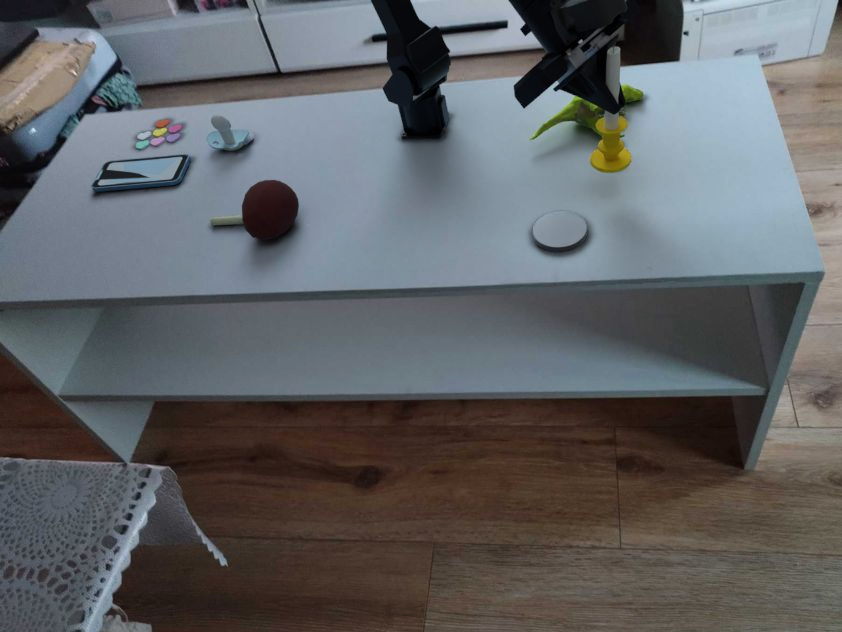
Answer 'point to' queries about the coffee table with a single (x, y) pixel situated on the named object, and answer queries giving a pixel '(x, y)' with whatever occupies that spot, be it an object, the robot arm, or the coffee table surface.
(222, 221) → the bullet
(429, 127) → the robot arm
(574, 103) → the dinosaur figurine
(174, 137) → the candy hearts
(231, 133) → the pacifier
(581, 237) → the coaster
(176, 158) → the smartphone
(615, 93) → the candle
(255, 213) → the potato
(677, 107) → the coffee table surface
